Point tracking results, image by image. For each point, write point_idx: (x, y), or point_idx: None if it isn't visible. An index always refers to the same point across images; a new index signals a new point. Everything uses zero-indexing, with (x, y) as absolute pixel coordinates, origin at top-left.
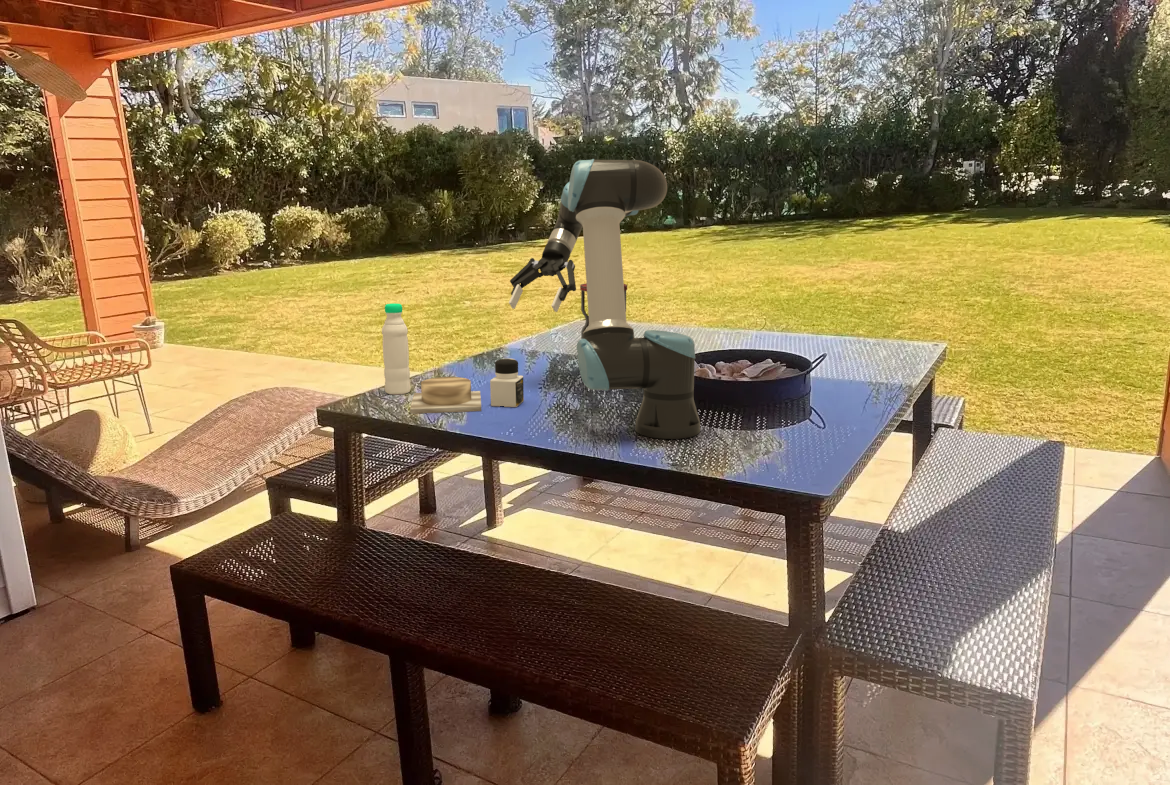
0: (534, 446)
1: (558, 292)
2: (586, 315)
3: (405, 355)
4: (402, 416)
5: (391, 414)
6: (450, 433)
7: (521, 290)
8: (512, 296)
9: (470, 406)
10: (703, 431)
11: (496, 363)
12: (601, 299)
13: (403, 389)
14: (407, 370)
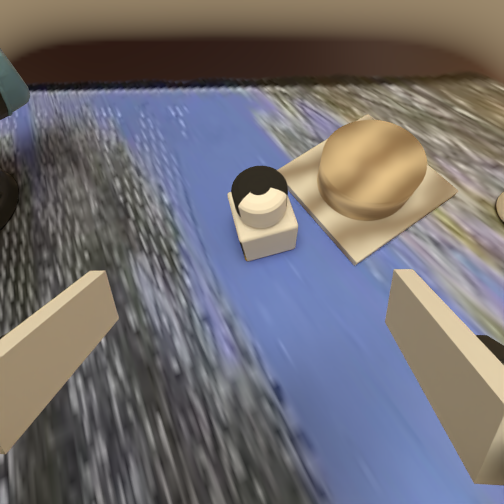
0: (126, 89)
1: (13, 336)
2: None
3: None
4: (363, 106)
5: (386, 106)
6: (245, 82)
7: (468, 444)
8: (430, 298)
9: (292, 163)
10: None
11: (273, 168)
12: None
13: (501, 198)
14: None
